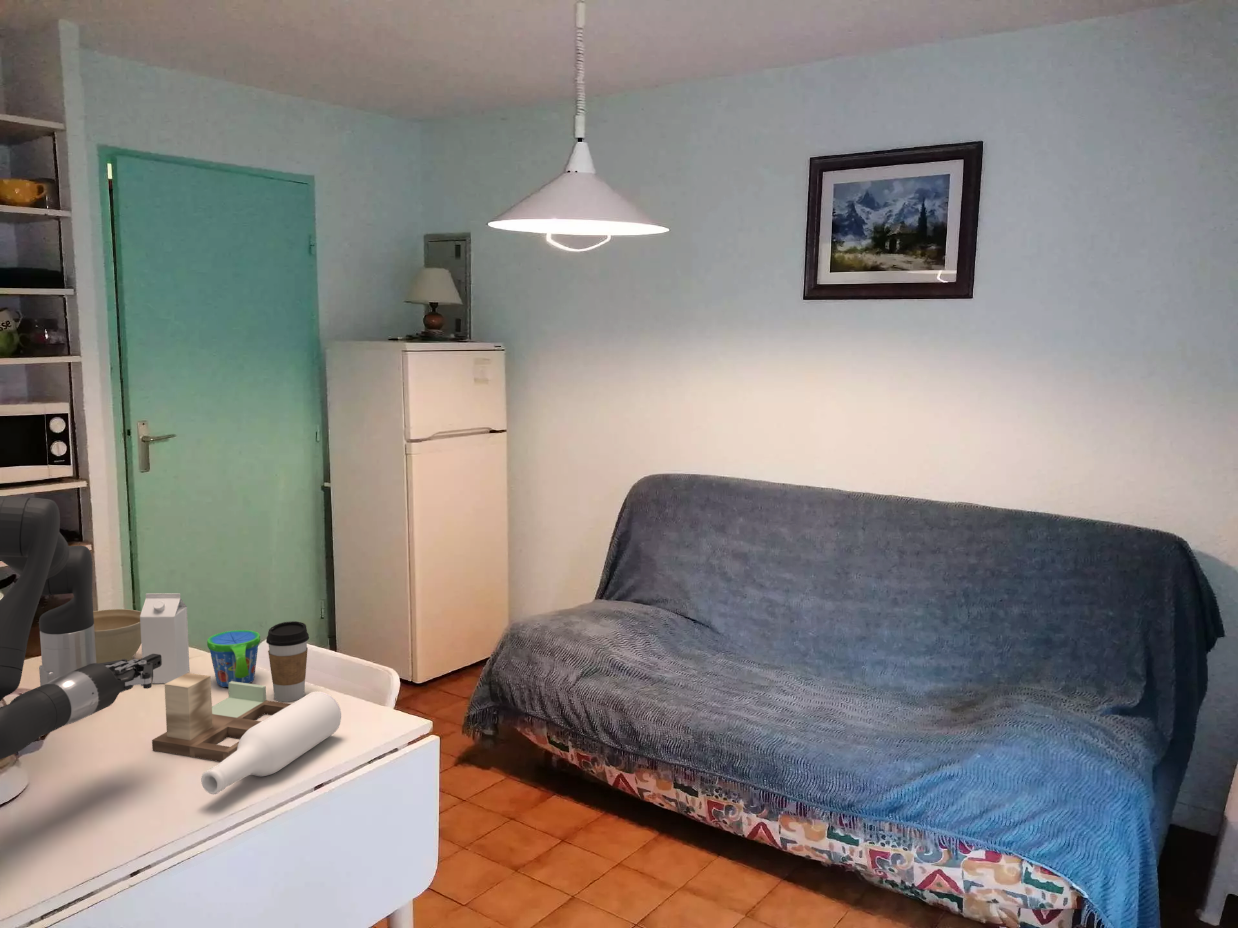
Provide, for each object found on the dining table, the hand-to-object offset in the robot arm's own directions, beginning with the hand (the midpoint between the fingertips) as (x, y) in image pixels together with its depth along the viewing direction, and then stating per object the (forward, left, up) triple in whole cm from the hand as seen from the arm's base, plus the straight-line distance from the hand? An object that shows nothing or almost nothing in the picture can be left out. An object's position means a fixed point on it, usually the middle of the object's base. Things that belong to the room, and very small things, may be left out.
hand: (157, 659), depth 164 cm
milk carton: (+14, +39, -19) cm, 46 cm away
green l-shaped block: (+17, +10, -18) cm, 27 cm away
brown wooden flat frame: (+13, +3, -18) cm, 23 cm away
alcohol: (+26, -9, -14) cm, 31 cm away
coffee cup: (+29, +12, -19) cm, 37 cm away
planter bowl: (+7, +55, -19) cm, 59 cm away
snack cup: (+24, +27, -19) cm, 41 cm away
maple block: (+6, +4, -16) cm, 18 cm away
